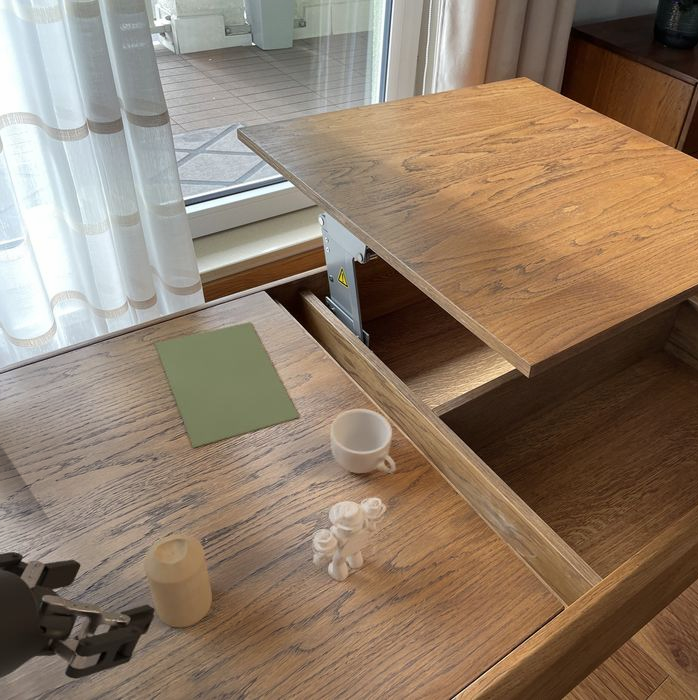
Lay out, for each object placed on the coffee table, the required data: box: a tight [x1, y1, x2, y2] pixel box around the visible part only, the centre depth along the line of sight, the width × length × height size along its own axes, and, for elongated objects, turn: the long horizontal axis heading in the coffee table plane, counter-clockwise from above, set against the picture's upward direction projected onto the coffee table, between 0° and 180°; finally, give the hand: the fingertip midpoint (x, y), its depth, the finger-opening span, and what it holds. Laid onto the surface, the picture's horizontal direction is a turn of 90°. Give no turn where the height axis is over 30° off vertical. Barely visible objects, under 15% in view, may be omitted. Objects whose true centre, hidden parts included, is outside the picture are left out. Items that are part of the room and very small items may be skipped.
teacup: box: [329, 408, 396, 474], centre depth 91 cm, size 10×8×5 cm
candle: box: [143, 533, 213, 628], centre depth 72 cm, size 6×6×10 cm
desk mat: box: [154, 321, 300, 449], centre depth 101 cm, size 14×22×1 cm, turn 30°
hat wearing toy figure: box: [311, 495, 387, 582], centre depth 77 cm, size 9×4×12 cm, turn 135°
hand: (110, 594), depth 63 cm, fingers open, 8 cm apart
